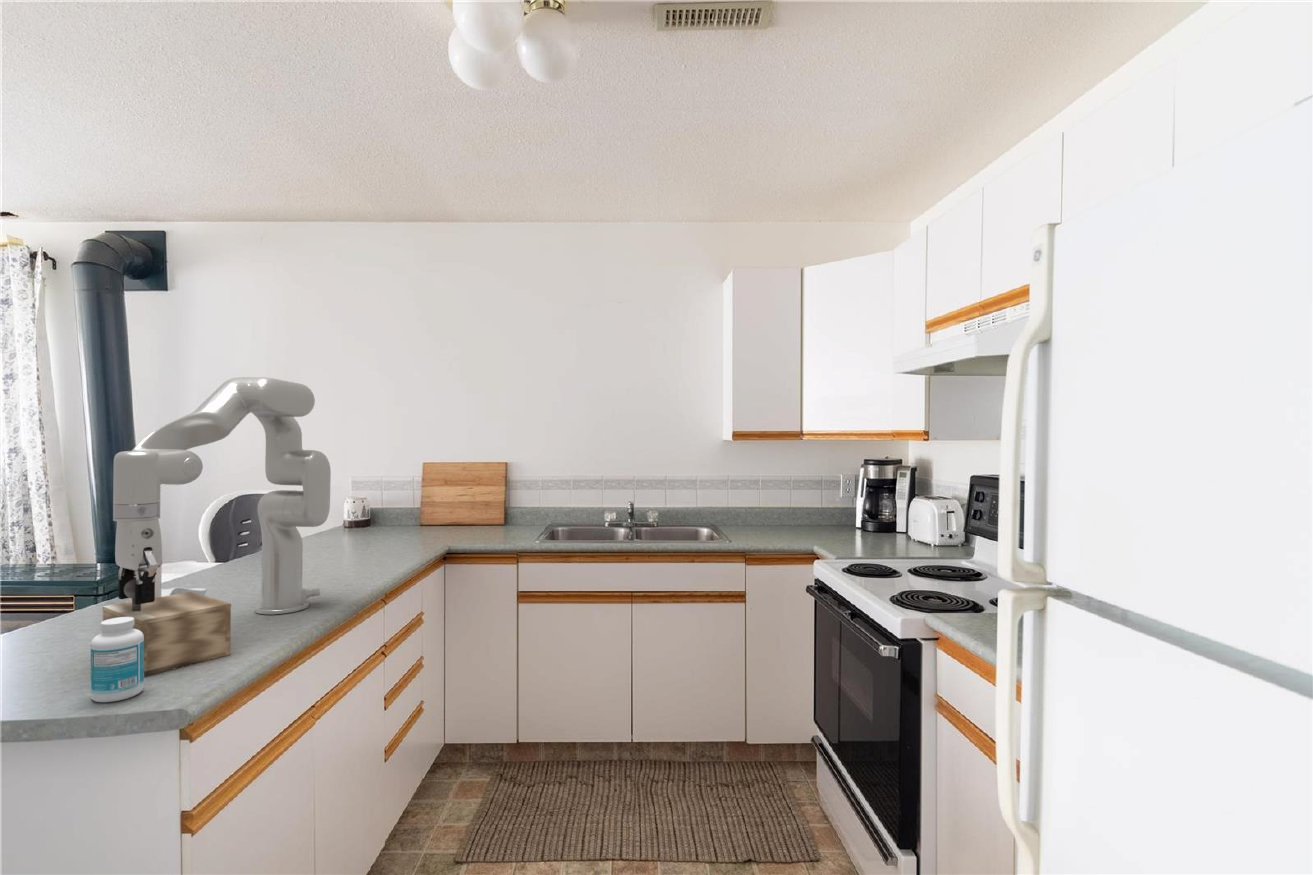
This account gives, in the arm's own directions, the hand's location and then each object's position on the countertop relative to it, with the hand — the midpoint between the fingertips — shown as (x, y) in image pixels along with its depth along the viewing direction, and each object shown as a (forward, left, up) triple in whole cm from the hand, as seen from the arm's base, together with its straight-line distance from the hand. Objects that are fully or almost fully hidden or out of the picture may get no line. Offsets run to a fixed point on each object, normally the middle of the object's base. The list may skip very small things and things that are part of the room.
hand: (136, 599), depth 135 cm
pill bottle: (+8, +16, -13) cm, 22 cm away
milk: (-9, -19, -13) cm, 25 cm away
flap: (-6, 0, -3) cm, 6 cm away
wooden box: (-6, 0, -13) cm, 14 cm away
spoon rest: (-23, -41, -14) cm, 49 cm away
